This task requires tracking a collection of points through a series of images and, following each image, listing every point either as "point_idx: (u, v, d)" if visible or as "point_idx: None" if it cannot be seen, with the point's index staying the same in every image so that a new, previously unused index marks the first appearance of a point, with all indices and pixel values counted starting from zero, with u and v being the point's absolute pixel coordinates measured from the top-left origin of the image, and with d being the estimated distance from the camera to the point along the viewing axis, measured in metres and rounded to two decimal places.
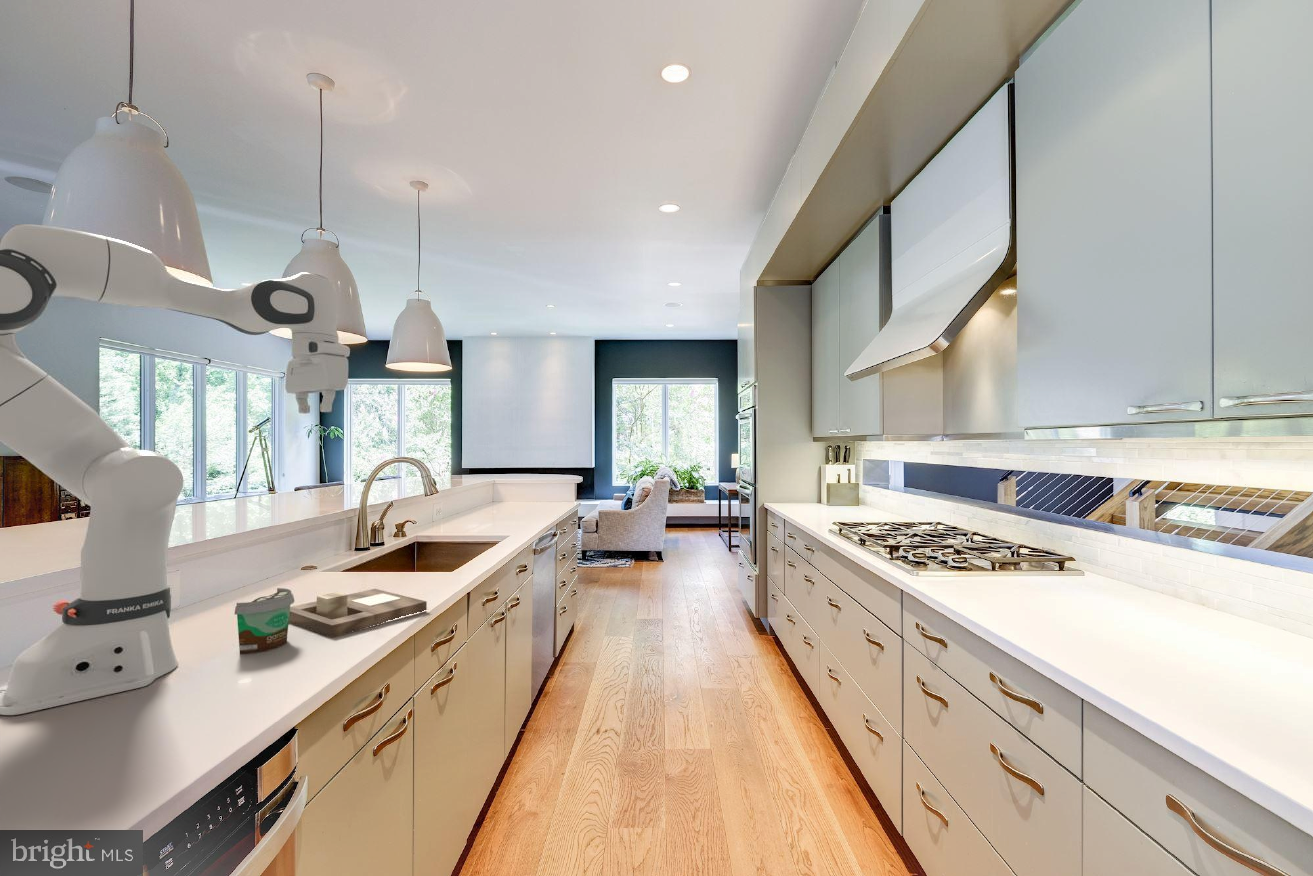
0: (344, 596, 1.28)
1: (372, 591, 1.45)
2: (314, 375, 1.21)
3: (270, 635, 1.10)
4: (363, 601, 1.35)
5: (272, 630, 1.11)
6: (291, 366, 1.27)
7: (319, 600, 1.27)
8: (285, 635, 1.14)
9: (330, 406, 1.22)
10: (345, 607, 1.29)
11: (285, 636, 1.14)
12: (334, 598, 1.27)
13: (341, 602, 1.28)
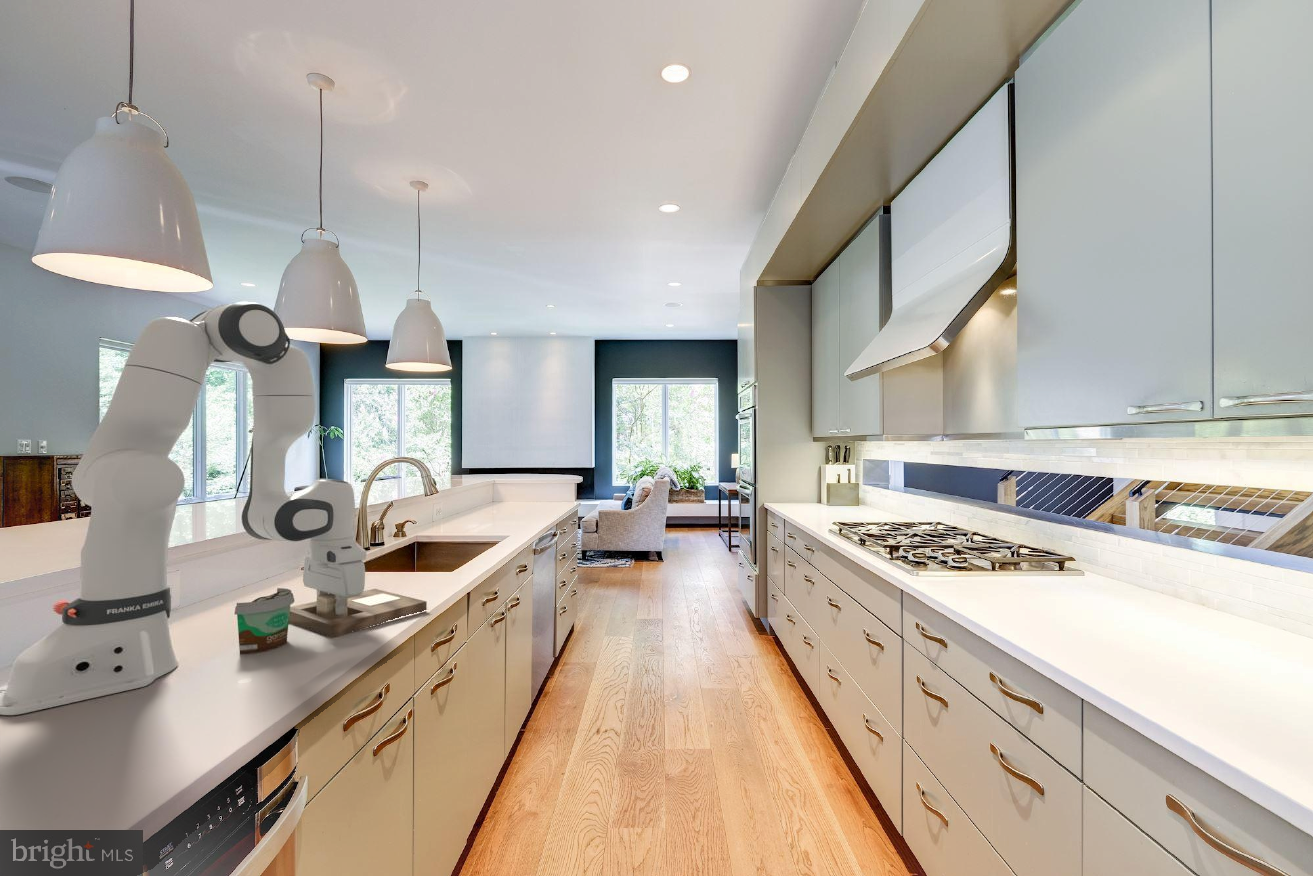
0: None
1: (372, 591, 1.45)
2: (332, 580, 1.25)
3: (270, 635, 1.10)
4: (363, 601, 1.35)
5: (272, 630, 1.11)
6: (308, 562, 1.31)
7: (319, 600, 1.27)
8: (285, 635, 1.14)
9: (343, 608, 1.27)
10: (345, 607, 1.29)
11: (285, 636, 1.14)
12: (334, 598, 1.27)
13: None
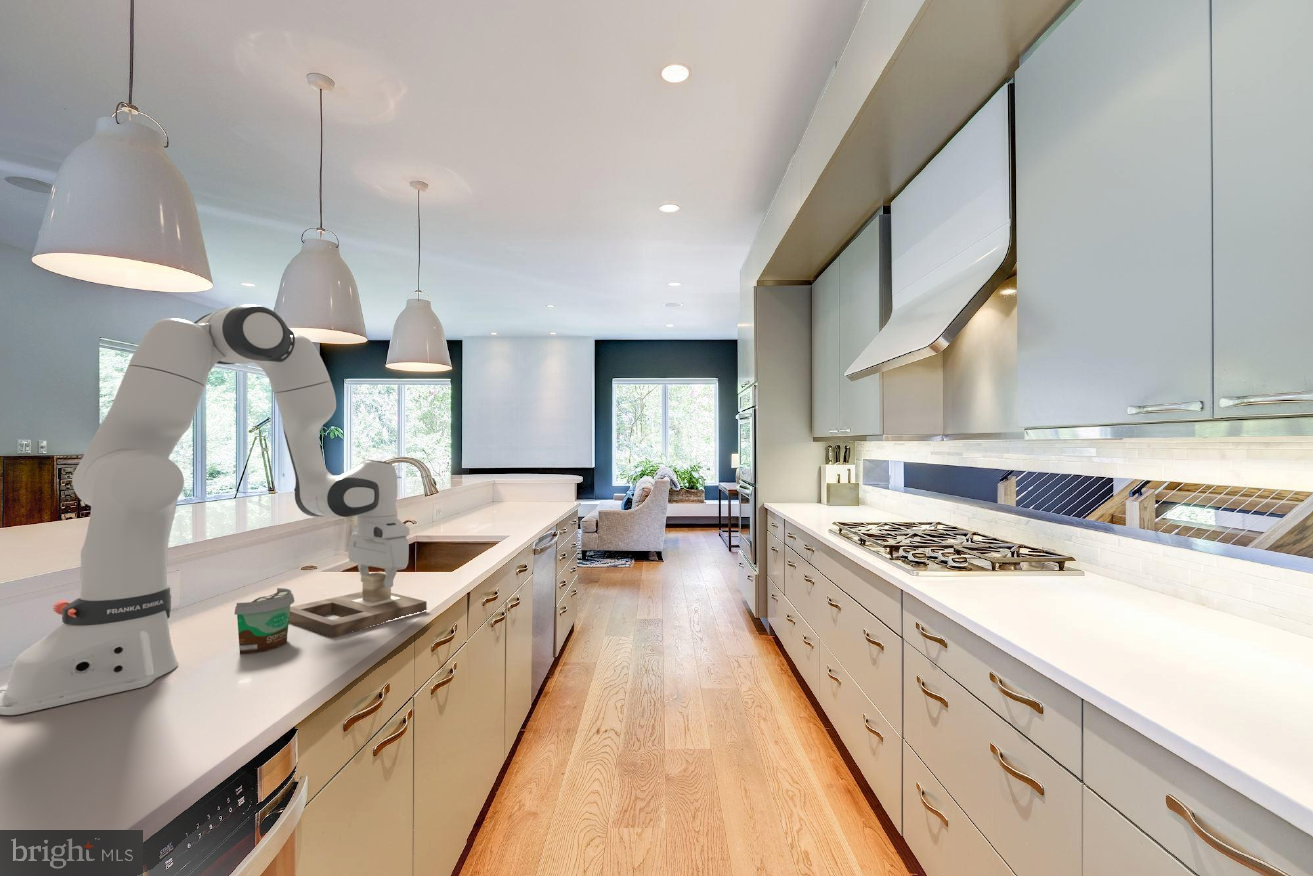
0: None
1: None
2: (378, 555, 1.34)
3: (270, 635, 1.10)
4: (363, 601, 1.35)
5: (272, 630, 1.11)
6: (354, 538, 1.40)
7: (365, 578, 1.36)
8: (285, 635, 1.14)
9: (392, 582, 1.35)
10: None
11: (285, 636, 1.14)
12: (379, 577, 1.35)
13: None
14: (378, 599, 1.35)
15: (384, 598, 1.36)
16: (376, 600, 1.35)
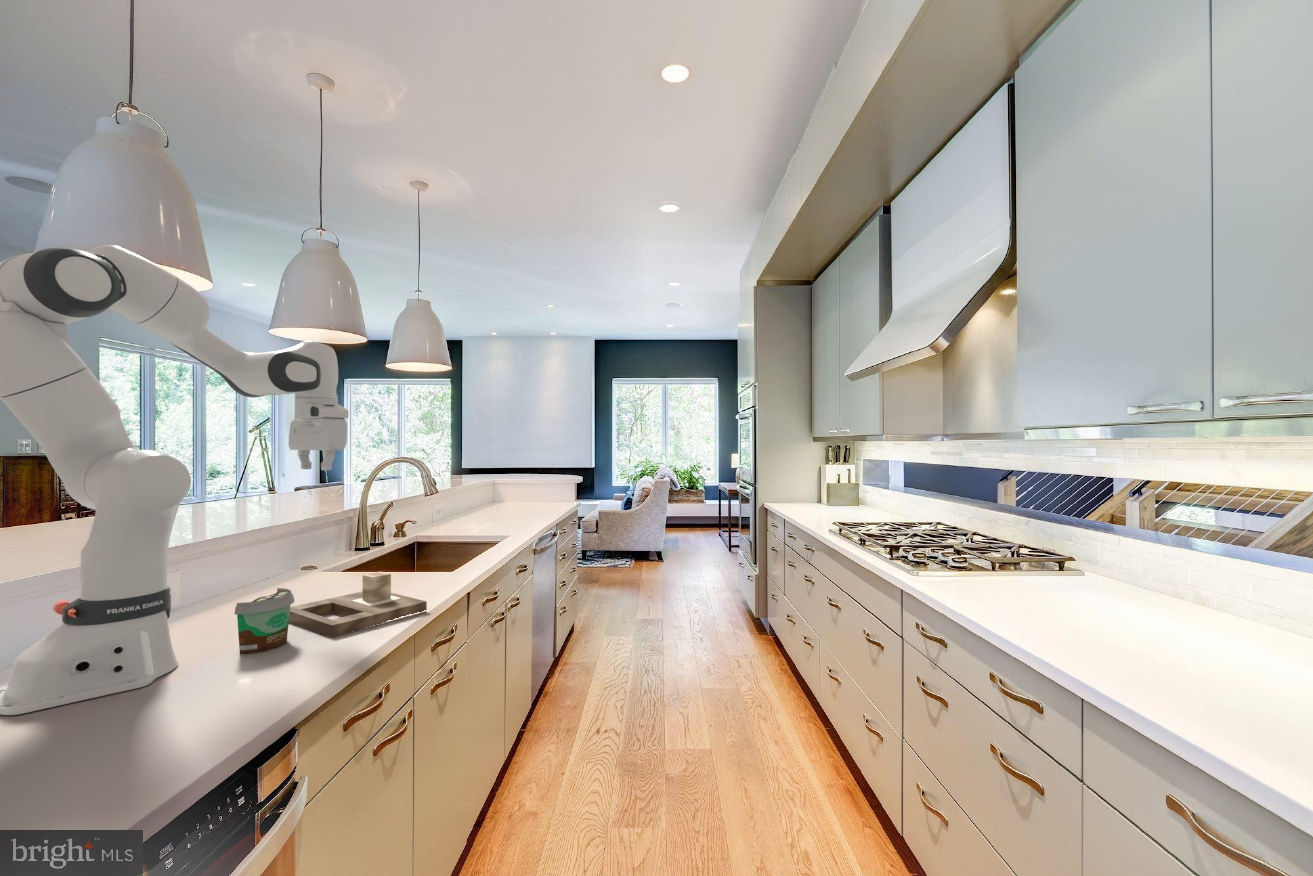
0: (388, 575, 1.37)
1: None
2: (315, 437, 1.31)
3: (270, 635, 1.10)
4: (363, 601, 1.35)
5: (272, 630, 1.11)
6: (293, 425, 1.37)
7: (365, 578, 1.36)
8: (285, 635, 1.14)
9: (330, 465, 1.32)
10: (389, 585, 1.37)
11: (285, 636, 1.14)
12: (379, 577, 1.35)
13: (385, 580, 1.37)
14: (378, 599, 1.35)
15: (384, 598, 1.36)
16: (376, 600, 1.35)
